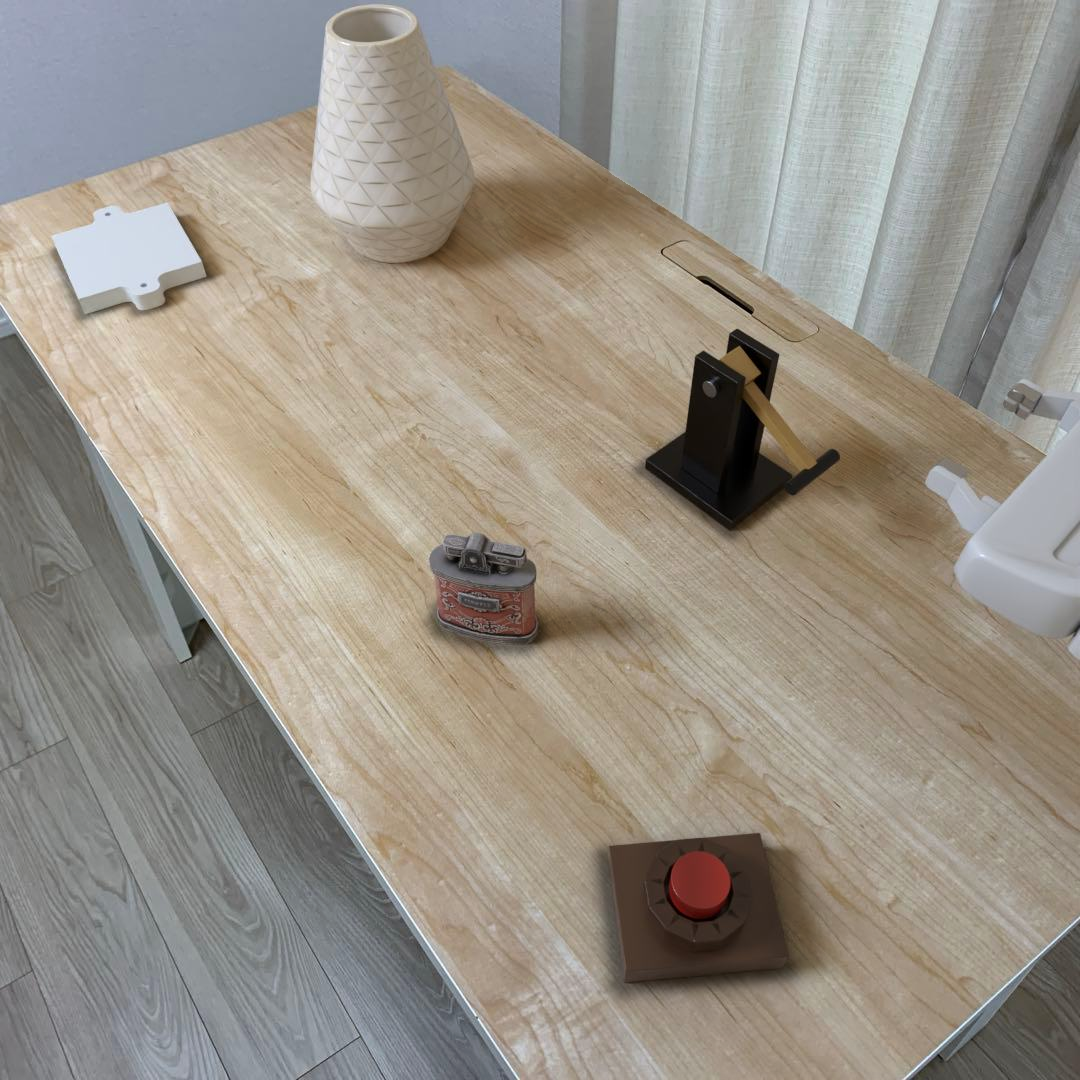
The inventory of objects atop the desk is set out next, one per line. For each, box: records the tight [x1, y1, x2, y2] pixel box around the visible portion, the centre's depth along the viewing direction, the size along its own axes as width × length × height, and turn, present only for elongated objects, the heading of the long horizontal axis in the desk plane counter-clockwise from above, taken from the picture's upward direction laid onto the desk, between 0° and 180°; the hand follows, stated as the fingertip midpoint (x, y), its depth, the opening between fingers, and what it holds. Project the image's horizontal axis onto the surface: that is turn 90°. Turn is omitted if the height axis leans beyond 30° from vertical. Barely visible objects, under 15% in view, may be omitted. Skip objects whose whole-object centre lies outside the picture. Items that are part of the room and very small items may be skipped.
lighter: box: [428, 532, 539, 645], centre depth 79 cm, size 8×3×10 cm, turn 76°
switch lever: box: [718, 346, 841, 497], centre depth 83 cm, size 12×6×2 cm, turn 42°
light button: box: [669, 851, 731, 919], centre depth 64 cm, size 4×4×2 cm
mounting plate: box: [50, 202, 207, 315], centre depth 113 cm, size 18×13×2 cm
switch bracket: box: [644, 328, 793, 532], centre depth 87 cm, size 10×8×14 cm
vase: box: [309, 3, 476, 264], centre depth 108 cm, size 17×17×23 cm
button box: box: [607, 832, 789, 983], centre depth 66 cm, size 10×8×4 cm
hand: (973, 429), depth 67 cm, fingers open, 8 cm apart
